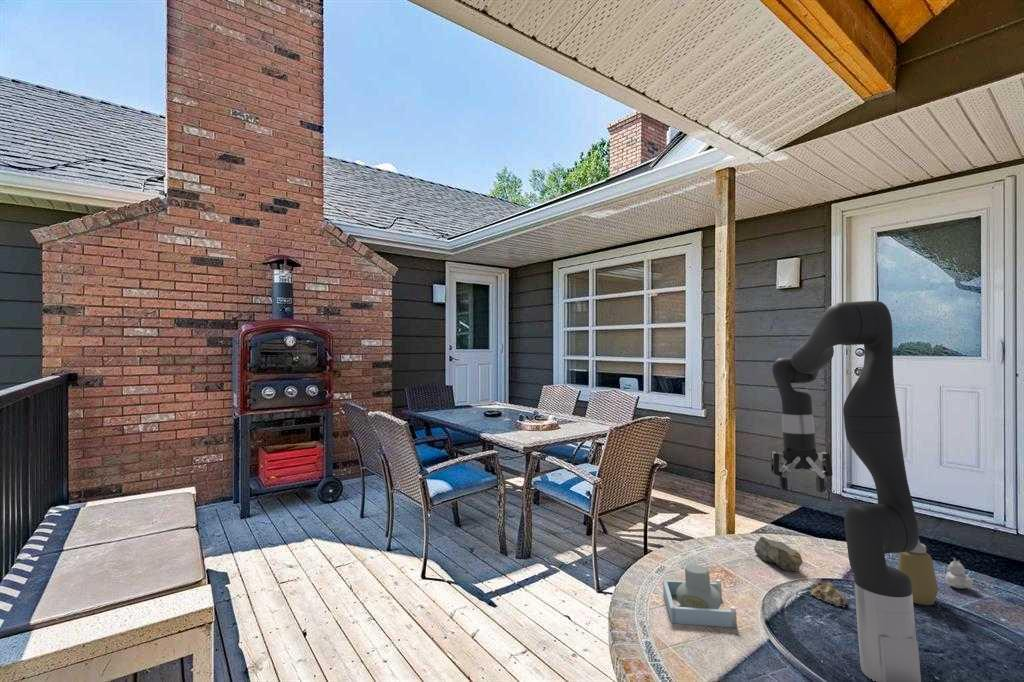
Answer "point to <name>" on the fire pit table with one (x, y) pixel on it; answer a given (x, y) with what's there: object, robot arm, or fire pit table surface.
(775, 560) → the rock
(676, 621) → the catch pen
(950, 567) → the rubber duck
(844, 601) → the mineral rock
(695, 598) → the air freshener
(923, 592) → the squeeze bottle
